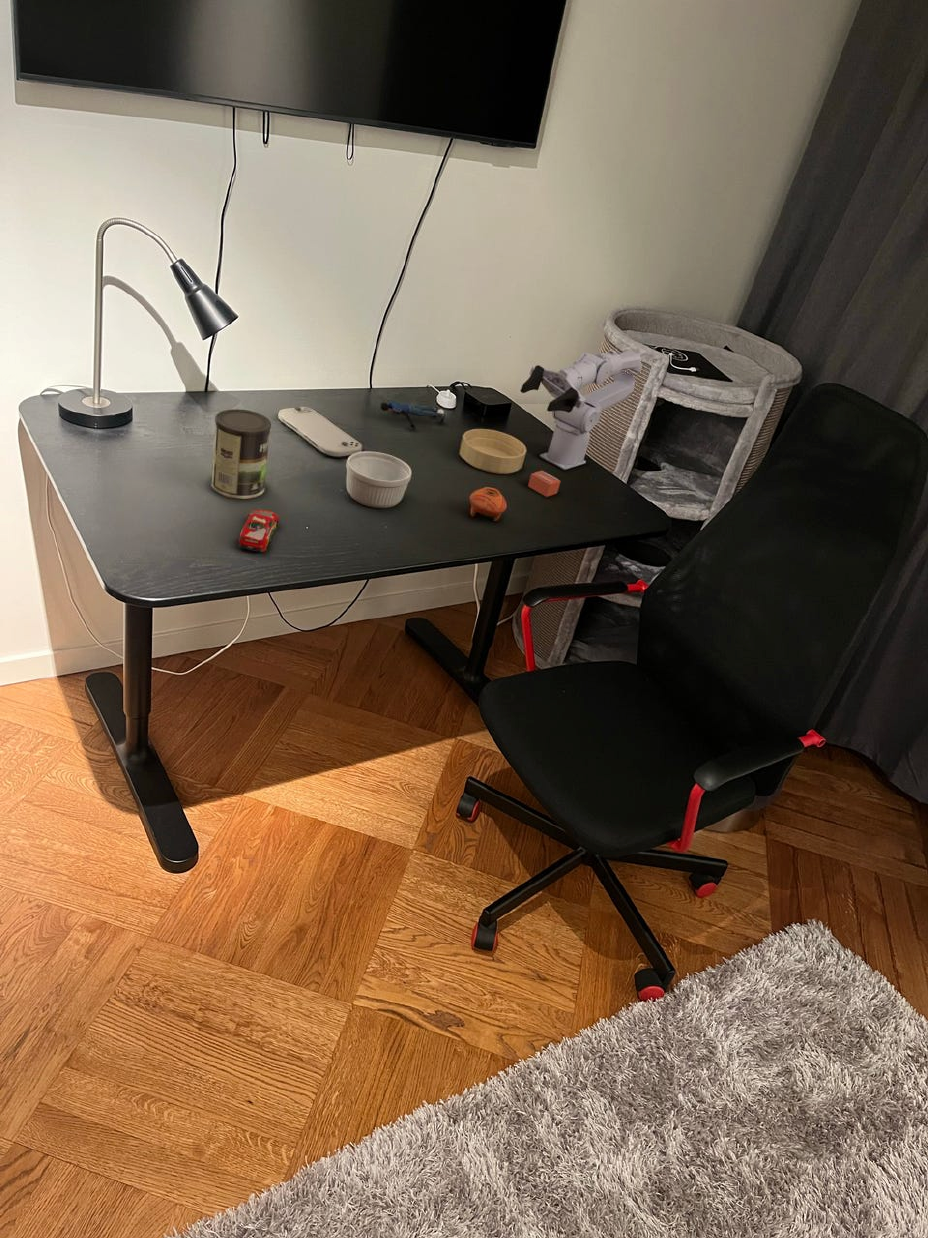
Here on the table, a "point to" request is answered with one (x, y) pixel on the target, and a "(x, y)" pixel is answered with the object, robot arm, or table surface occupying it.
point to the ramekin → (377, 479)
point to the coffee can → (240, 453)
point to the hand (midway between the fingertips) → (535, 397)
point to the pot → (487, 502)
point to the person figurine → (413, 411)
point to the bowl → (492, 451)
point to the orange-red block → (544, 483)
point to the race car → (258, 530)
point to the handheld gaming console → (319, 432)
